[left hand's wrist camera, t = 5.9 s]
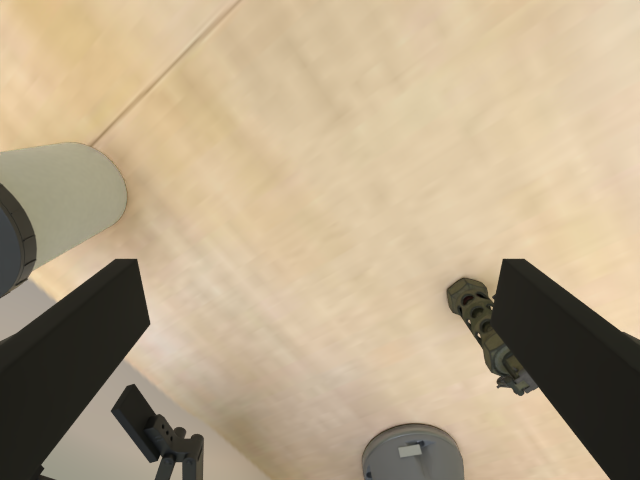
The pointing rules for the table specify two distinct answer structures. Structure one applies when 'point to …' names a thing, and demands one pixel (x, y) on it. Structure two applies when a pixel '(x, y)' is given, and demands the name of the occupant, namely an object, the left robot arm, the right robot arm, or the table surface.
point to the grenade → (488, 334)
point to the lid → (15, 243)
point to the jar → (64, 193)
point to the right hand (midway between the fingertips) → (52, 417)
